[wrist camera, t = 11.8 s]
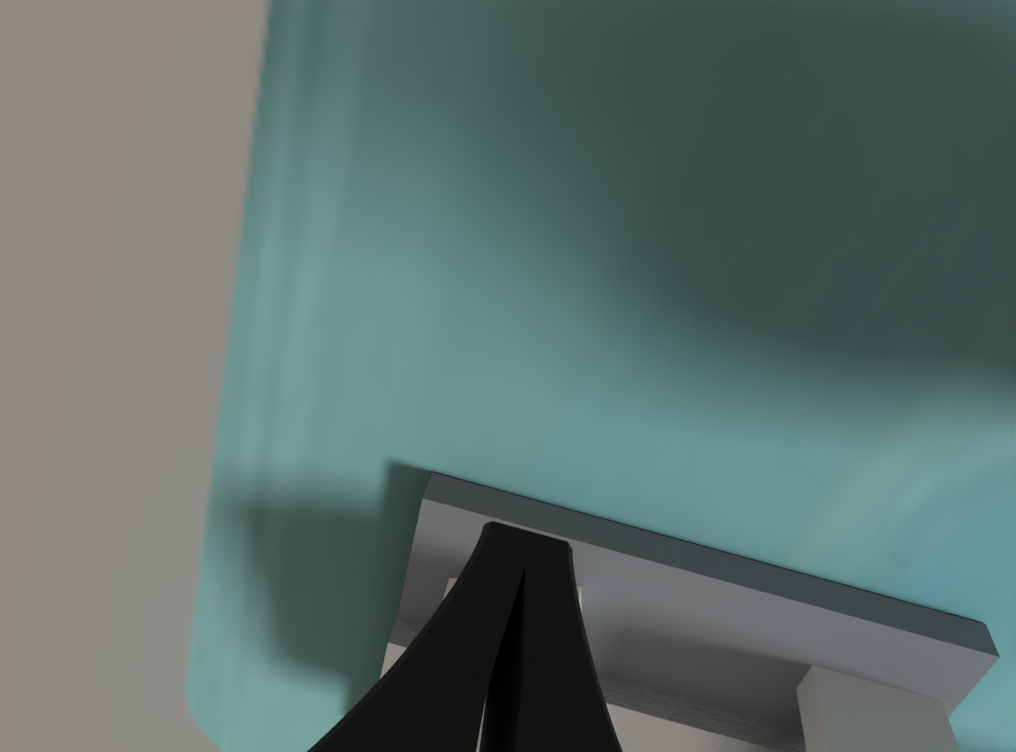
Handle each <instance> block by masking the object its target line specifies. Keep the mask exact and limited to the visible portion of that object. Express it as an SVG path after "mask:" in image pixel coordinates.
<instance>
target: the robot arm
mask: <svg viewBox="0 0 1016 752" xmlns="http://www.w3.org/2000/svg"><path fill="white" fill-rule="evenodd" d="M485 699H486V700H485ZM484 705H485V708H484ZM483 710H484V716H483ZM482 716H483V724H482V732H481V740H480V748H479V752H623V751H622V748H621V746H620V743H619V740H618V738H617V735H616V732H615V729H614V726H613V724H612V721H611V718H610V715H609V712H608V709H607V705H606V702H605V699H604V696H603V693H602V690H601V687H600V683H599V680H598V677H597V673H596V670H595V666H594V662H593V658H592V654H591V651H590V647H589V643H588V639H587V635H586V631H585V627H584V622H583V618H582V613H581V608H580V603H579V597H578V592H577V586H576V580H575V572H574V564H573V550H572V547H571V546H570V544H569V543H568V541H564V540H560V539H557V538H553V537H550V536H546V535H542V534H539V533H535V532H531V531H528V530H524V529H521V528H517V527H513V526H510V525H506V524H502V523H499V522H495V521H491V522H488V523H486V524H484V526H483V529H482V532H481V535H480V538H479V540H478V542H477V544H476V547H475V549H474V551H473V553H472V555H471V556H470V558H469V560H468V562H467V564H466V565H465V567H464V569H463V570H462V572H461V574H460V575H459V577H458V579H457V580H456V582H455V584H454V585H453V586H452V588H451V589H450V591H449V592H448V594H447V595H446V597H445V598H444V600H443V601H442V603H441V604H440V605H439V607H438V608H437V610H436V611H435V613H434V614H433V615H432V617H431V618H430V620H429V621H428V622H427V623H426V625H425V626H424V627H423V628H422V630H421V631H420V632H419V633H418V635H417V636H416V637H415V639H414V640H413V641H412V642H411V644H410V645H409V646H408V647H407V649H406V650H405V651H404V652H403V654H402V655H401V656H400V657H399V658H398V660H397V661H396V662H395V663H394V664H393V665H392V666H391V668H390V669H389V670H388V671H387V672H386V673H385V674H384V676H383V677H382V678H381V679H380V680H379V681H378V682H377V683H376V684H375V685H374V686H373V688H372V689H371V690H370V691H369V692H368V693H367V694H366V695H365V696H364V697H363V698H362V699H361V700H360V701H359V702H358V703H357V704H356V705H355V706H354V707H353V708H352V709H351V710H350V711H349V712H348V713H347V714H346V715H345V716H344V717H343V718H342V719H341V720H340V721H339V722H338V723H337V724H336V725H335V726H334V727H333V728H332V729H331V730H330V731H329V732H328V733H327V734H326V735H325V736H324V737H322V738H321V739H320V740H319V741H318V742H317V743H316V744H315V745H314V746H313V747H312V748H311V749H309V750H308V751H307V752H476V749H477V743H478V738H479V732H480V727H481V721H482Z"/></svg>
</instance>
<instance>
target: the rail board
mask: <svg viewBox="0 0 1016 752" xmlns="http://www.w3.org/2000/svg"><path fill="white" fill-rule="evenodd" d="M491 521H495V522H499V523H502V524H506V525H510V526H513V527H517V528H521V529H524V530H528V531H531V532H535V533H539V534H542V535H546V536H550V537H553V538H557V539H560V540H564V541H568V543H569V544H570V546H571V547H572V550H573V564H574V572H575V580H576V586H581V609H582V618H583V622H584V627H585V631H586V635H587V639H588V643H589V647H590V651H591V654H592V658H593V662H594V666H595V670H596V673H597V677H598V680H599V683H600V687H601V690H602V693H603V696H604V699H605V702H606V705H607V709H608V712H609V715H610V718H611V721H612V724H613V726H614V729H615V732H616V735H617V738H618V740H619V743H620V746H621V748H622V751H623V752H959V749H958V746H957V743H956V740H955V737H954V734H953V731H952V728H951V725H950V723H949V720H948V717H949V715H950V714H951V713H952V712H953V711H954V710H955V708H956V707H957V706H958V705H959V704H960V703H961V701H962V700H963V699H964V698H965V697H966V696H967V695H968V693H969V692H970V691H971V690H972V689H973V688H974V686H975V685H976V684H977V683H978V682H979V681H980V679H981V678H982V677H983V676H984V675H985V674H986V673H987V671H988V670H989V669H990V668H991V667H992V666H993V664H994V663H995V662H996V661H997V660H998V659H999V658H1000V656H999V654H998V651H997V649H996V647H995V645H994V642H993V640H992V638H991V635H990V633H989V631H988V628H987V626H986V624H983V623H979V622H976V621H972V620H968V619H965V618H961V617H958V616H954V615H950V614H947V613H943V612H939V611H936V610H932V609H928V608H925V607H921V606H917V605H914V604H910V603H907V602H903V601H899V600H896V599H892V598H888V597H885V596H881V595H877V594H874V593H870V592H867V591H863V590H859V589H856V588H852V587H848V586H845V585H841V584H837V583H834V582H830V581H826V580H823V579H819V578H816V577H812V576H808V575H805V574H801V573H797V572H794V571H790V570H786V569H783V568H779V567H776V566H772V565H768V564H765V563H761V562H757V561H754V560H750V559H746V558H743V557H739V556H735V555H732V554H728V553H725V552H721V551H717V550H714V549H710V548H706V547H703V546H699V545H695V544H692V543H688V542H685V541H681V540H677V539H674V538H670V537H666V536H663V535H659V534H655V533H652V532H648V531H644V530H641V529H637V528H634V527H630V526H626V525H623V524H619V523H615V522H612V521H608V520H604V519H601V518H597V517H594V516H590V515H586V514H583V513H579V512H575V511H572V510H568V509H564V508H561V507H557V506H553V505H550V504H546V503H543V502H539V501H535V500H532V499H528V498H524V497H521V496H517V495H513V494H510V493H506V492H503V491H499V490H495V489H492V488H488V487H484V486H481V485H477V484H473V483H470V482H466V481H462V480H459V479H455V478H452V477H448V476H444V475H441V474H437V473H433V472H432V474H431V476H430V479H429V482H428V485H427V487H426V490H425V493H424V495H423V498H422V503H421V507H420V512H419V516H418V521H417V525H416V530H415V535H414V539H413V544H412V548H411V553H410V558H409V562H408V567H407V571H406V576H405V581H404V585H403V590H402V594H401V599H400V604H399V608H398V613H397V617H396V620H395V623H394V626H393V629H392V632H391V635H390V638H389V641H388V644H387V649H386V654H385V658H384V663H383V668H382V672H381V677H380V679H381V678H382V677H383V676H384V674H385V673H386V672H387V671H388V670H389V669H390V668H391V666H392V665H393V664H394V663H395V662H396V661H397V660H398V658H399V657H400V656H401V655H402V654H403V652H404V651H405V650H406V649H407V647H408V646H409V645H410V644H411V642H412V641H413V640H414V639H415V637H416V636H417V635H418V633H419V632H420V631H421V630H422V628H423V627H424V626H425V625H426V623H427V622H428V621H429V620H430V618H431V617H432V615H433V614H434V613H435V611H436V610H437V608H438V607H439V605H440V604H441V603H442V601H443V598H444V594H445V591H446V587H447V584H448V581H449V578H458V577H459V575H460V574H461V572H462V570H463V569H464V567H465V565H466V564H467V562H468V560H469V558H470V556H471V555H472V553H473V551H474V549H475V547H476V544H477V542H478V540H479V538H480V535H481V532H482V529H483V526H484V524H486V523H488V522H491Z"/></svg>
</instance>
